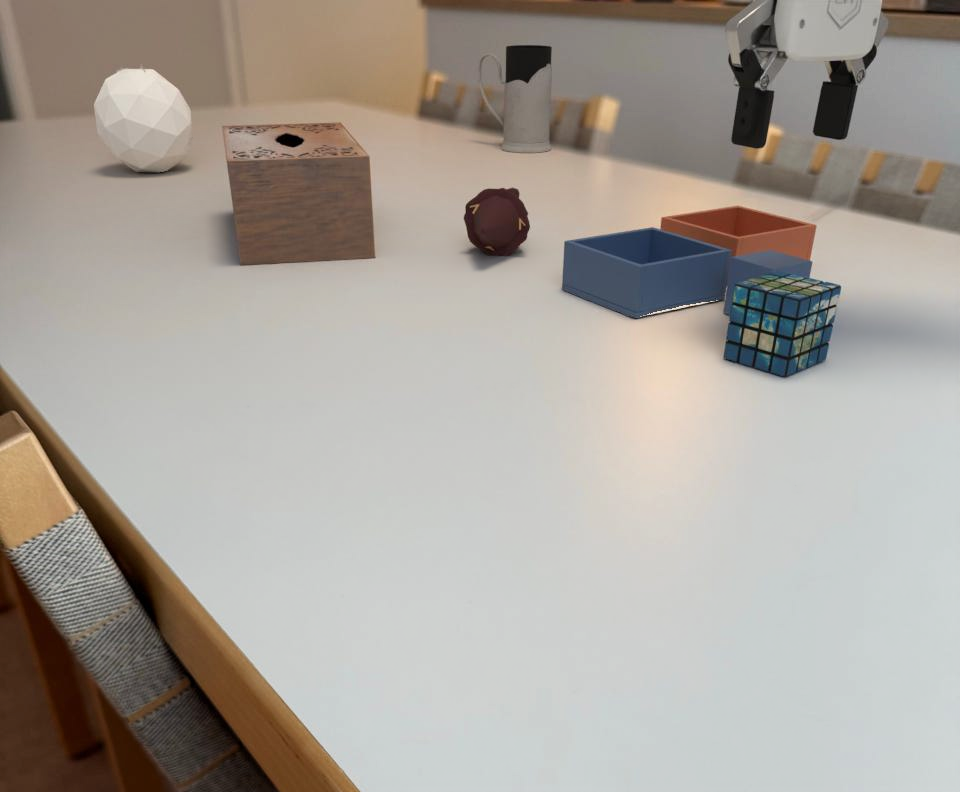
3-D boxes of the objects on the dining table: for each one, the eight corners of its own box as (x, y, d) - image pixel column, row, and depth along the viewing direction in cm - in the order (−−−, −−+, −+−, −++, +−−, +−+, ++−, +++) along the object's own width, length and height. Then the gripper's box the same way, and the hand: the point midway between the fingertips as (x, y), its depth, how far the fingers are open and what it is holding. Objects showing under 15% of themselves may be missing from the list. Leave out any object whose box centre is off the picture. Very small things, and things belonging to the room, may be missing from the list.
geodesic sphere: (59, 126, 144) (77, 39, 133) (136, 116, 153) (159, 34, 142) (123, 201, 143) (146, 120, 133) (197, 186, 153) (224, 109, 142)
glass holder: (535, 154, 160) (538, 49, 152) (464, 146, 167) (464, 45, 158) (560, 147, 166) (565, 46, 158) (491, 140, 173) (492, 42, 164)
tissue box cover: (233, 213, 122) (221, 125, 116) (346, 208, 125) (340, 122, 119) (240, 265, 102) (226, 161, 96) (375, 257, 105) (369, 156, 99)
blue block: (761, 304, 91) (770, 249, 88) (801, 318, 87) (812, 261, 85) (722, 313, 89) (731, 256, 86) (762, 327, 85) (773, 269, 82)
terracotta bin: (731, 249, 108) (737, 205, 106) (807, 271, 101) (817, 224, 98) (656, 262, 103) (661, 217, 101) (730, 287, 96) (738, 238, 93)
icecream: (527, 207, 96) (549, 192, 109) (457, 183, 96) (488, 171, 109) (507, 276, 100) (531, 254, 112) (441, 253, 100) (472, 234, 113)
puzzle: (763, 342, 82) (776, 270, 78) (826, 360, 78) (842, 285, 75) (722, 358, 78) (733, 283, 75) (785, 378, 75) (800, 300, 71)
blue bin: (647, 273, 100) (652, 226, 97) (724, 300, 92) (732, 250, 89) (561, 289, 95) (564, 240, 92) (635, 319, 87) (640, 266, 84)
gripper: (796, -134, 62) (748, 157, 72) (957, -120, 70) (894, 140, 80) (714, -128, 67) (680, 142, 77) (873, -116, 75) (823, 128, 85)
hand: (789, 141), depth 79 cm, fingers open, 9 cm apart
